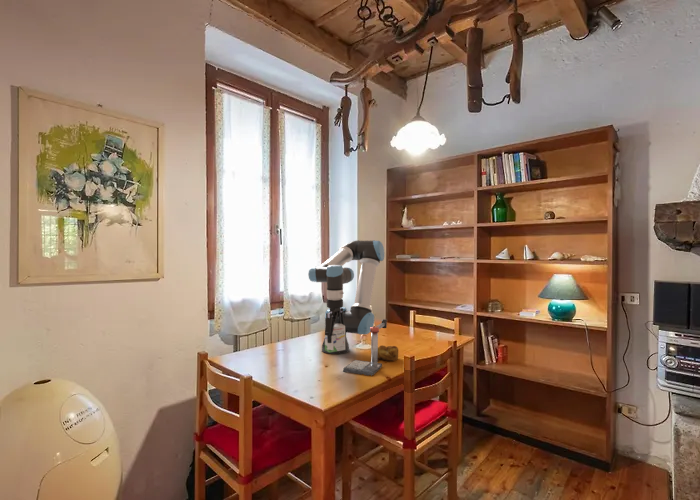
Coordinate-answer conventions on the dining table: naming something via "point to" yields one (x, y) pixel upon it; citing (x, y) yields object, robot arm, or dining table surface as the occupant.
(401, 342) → the dining table surface
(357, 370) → the stand
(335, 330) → the ink box
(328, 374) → the dining table surface
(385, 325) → the lever
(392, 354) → the bread roll
